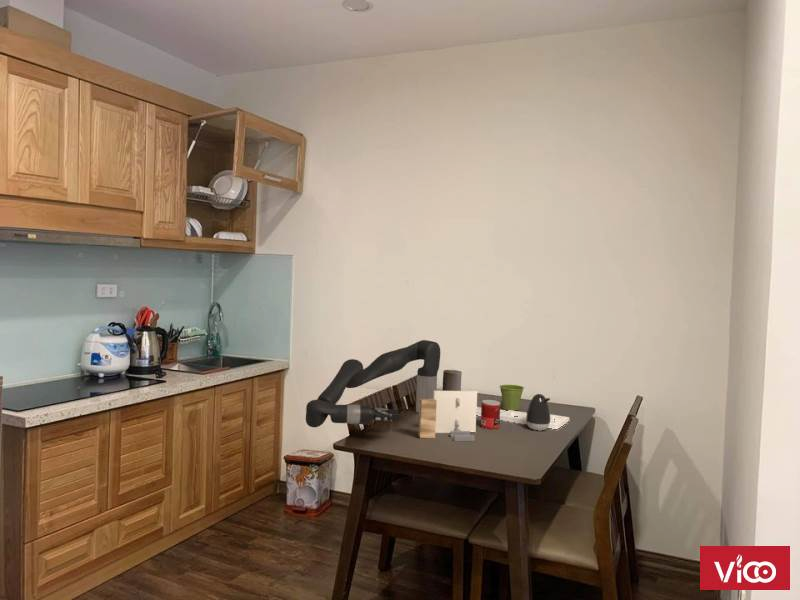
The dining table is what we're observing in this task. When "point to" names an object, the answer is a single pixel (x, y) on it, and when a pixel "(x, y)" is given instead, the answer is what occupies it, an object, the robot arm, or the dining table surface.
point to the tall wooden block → (427, 418)
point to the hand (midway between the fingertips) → (399, 414)
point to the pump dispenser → (538, 413)
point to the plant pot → (511, 396)
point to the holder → (521, 418)
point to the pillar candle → (451, 380)
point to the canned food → (490, 414)
